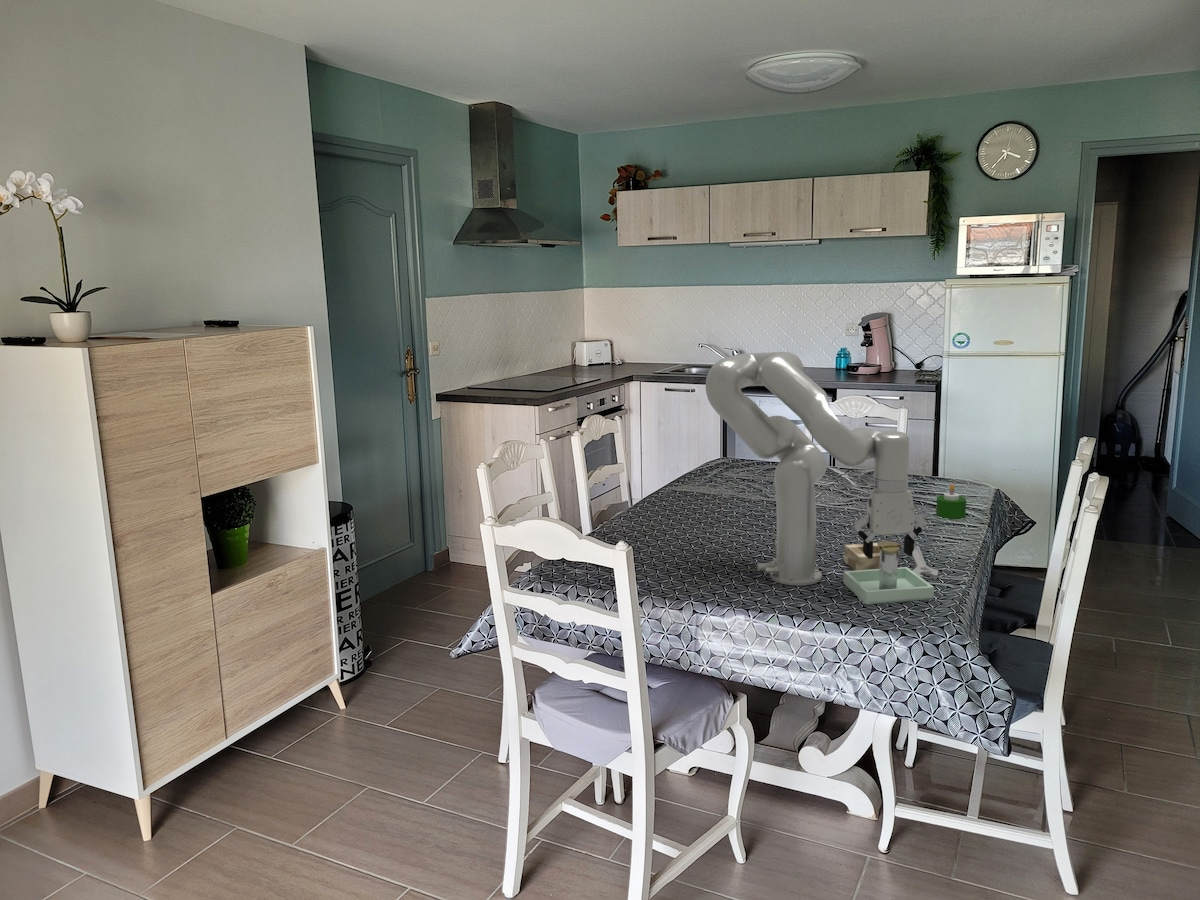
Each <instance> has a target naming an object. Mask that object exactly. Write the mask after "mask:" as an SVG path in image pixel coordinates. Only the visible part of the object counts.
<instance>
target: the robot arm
mask: <svg viewBox="0 0 1200 900" xmlns="http://www.w3.org/2000/svg"><path fill="white" fill-rule="evenodd" d="M759 386H760V387H765V388H766V389H767V390H769V391H770V393H772V394H773V395H774V396H775V397H776V398H777V399H778V400H779V401H781V402H782V403H783V404H784V405H786V407H788V409H790V410H791V411H792V412H793V413H794V414H795V415H796V416H797V417H798V418H799V419H800V420H801V422H802V423H803V425H804V427H805V428H806V430H807V431H808V432H809V434H810V435H811V437H812V438H813V439H814V440H815V442H816V443H817V444H818V445H819V446H820V447H821V448H822V449H823V450H825V451H826V453H827V454H829V455H830V456H831V457H832V458H834V459H835V460H836V461H837V462H839V463H840V464H842V465H844V466H848V467H858V466H860V465H862V464H863V463H865V462H866V461H867V460H871V459H874V460H873V461H874V465H873V466H874V467H873V478H872V480H870V481H867V486H868V488H872V489H870V492H869V497H868V502H867V508H866V515H865V516H863V517H861V518H859V519H857V520H856V521H854V522H853V523H852V527H853V528H854V531H855V533H856V535H858V536H859V537H860V538H861V539H862V540H863V542H862V544H863V553H864V554H865V556H866V557H868V558H869V559H872V558H873V543H874V542H872V540H873V539H874V538H875V537H876V536H893V535H905V536H904V537H903V553H904V554H906V555H907V556H909V557H912V554H913V551H914V545H915V540H916V539H917V538H918V535H920V534H921V532H922V531H923V528H924V527H925V525H926V522H927V520H926V519H925V518H923V517H921V516H919V515H917V514H915V507H914V499H913V494H912V493H913V492H912V490H910V489H909V465H910V461H909V460H910V437H909V435H908V434H907V433H905V432H903V431H896V430H887V431H885V430H884V431H883V430H877V429H873V428H867V427H857V428H853V429H852V430H851V429H849V427H848V426H846V425H845V423H843V422H842V421H841V420H840V419H839V418H838V417H837V416H836V415H835V413H834V412H833V409H832V408H831V406H830V401H829V396H828V394H827V392H826V391H825V390H824V389H823V387H821V386H820V385H818V384H817V383H816V382H815V381H814V380H813V379H812V378H811V377H809V376H808V375H807V374H805V372H804V363H803V362H802V360H801V359H800V357H799V356H798V355H796V354H795V353H793V352H790V351H777V352H775V351H774V352H748V353H747V352H746V353H745V352H743V353H738V354H735V355H731V356H727V357H724V358H721V359H720V360H717V361H716V362H715V363H713V365H712V366H711V368H710V369H709V370H708V373H707V375H706V380H705V393H706V396H707V400H708V402H709V404H710V405H711V407H712V408H713V410H714V411H715V413H716V414H718V416H720V418H722V420H723V421H724V422H725V423H726V424H727V425H728V426H729V427H730V429H732V431H733V432H734V433H735V434H736V435H737V436H738V437H739V438H740V439H741V440H742V441H743V443H744V444H746V446H747V447H748V448H749V449H750V450H751V451H752V453H754V455H756V456H757V457H758V458H760V459H762V460H763V459H764V460H769V459H773V458H775V457H776V458H778V461H779V462H778V464H777V465H776V467H775V469H774V473H773V474H774V476H773V482H774V489H775V490H774V491H775V501H776V547H775V548H776V550H775V551H776V557H772V561H769V562H761V563H760V562H759V563H757V564H756V569H757V571H758V572H761V571H763V572H765V574H769V577H770V579H771V580H772V581H774V582H776V583H778V584H782V585H785V586H786V585H787V586H798V587H800V586H802V587H803V586H810V585H814V584H817V583H819V582H820V581H821V580H822V575H823V574H822V572H821V571H820V570H819V569H818V568H816V558H817V557H816V556H817V555H816V552H817V551H816V549H817V547H816V546H817V545H816V544H817V536H816V535H817V504H816V503H817V501H816V500H817V499H816V494H815V484H817V482H819V481H820V480H821V479H822V478H823V477H824V475H825V473H826V471H827V467H828V465H827V459H826V456H825V455H824V454H823V451H821V449H819V447H818V446H817V445H816V444H815V443H814V442H813V441H812V440H811V439H810V438H809V436H807V435H806V434H805V433H804V431H802V429H800V427H799V426H798V425H797V424H795V422H793V421H792V420H791V419H789V418H787V417H785V416H782V415H771V416H768V415H767V414H766V413H765V411H763V410H762V408H760V407H759V406H758V404H757V403H756V402H755V401H754V400H753V399H751V398H749V397H748V396H747V395H746V394H744V393H743V391H742V389H744V388H746V387H759ZM915 522H916V525H915ZM865 525H866V530H865V531H863V529H862V527H863V526H865Z"/></svg>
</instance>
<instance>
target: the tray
mask: <svg viewBox="0 0 1200 900" xmlns="http://www.w3.org/2000/svg"><path fill="white" fill-rule="evenodd" d="M912 570H913V569H911V568H909V567H908V566H904V567H898V568H897V589H884V590H880V589H879V569H871V570H857V571H855V570H846V571H843V579H842V580H843V582H842V583H843V585H845V587H847V588H848V589H849V590H850V591H851V592H854V593H853V594H854V595H856V596H857V597H858V598H859V599H860V600H861V601H862V602H863V603H864V604H865V605H878V604H891V603H904V602H918V601H919V600H920V601H929V600H930V599H933V600H934V597H935V594H934V593H935V587H934V586H933V585H932V584H930V583H929V582H928V581H927V580H925V579H922V578H921V577H920V576H918V575H917V574H916V573H914V572H913V571H912ZM920 601H919V602H920ZM930 601H931V600H930Z"/></svg>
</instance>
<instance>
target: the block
mask: <svg viewBox="0 0 1200 900" xmlns="http://www.w3.org/2000/svg"><path fill="white" fill-rule="evenodd" d="M872 543H873V558H872V559H869V558H868V557H866V556H865V554H864V553H863V543H853V544H844V556H843V557H844V559H843V561H844V563H845V564H846V565H848V566H849V567H850V568H851V569H852V571H857V570H871V569H880V550H878V548H877V546H878V543H879V542H872ZM897 568H899V565H898V566H897Z"/></svg>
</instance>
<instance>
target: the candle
mask: <svg viewBox="0 0 1200 900" xmlns="http://www.w3.org/2000/svg"><path fill="white" fill-rule="evenodd" d="M948 488H949V492H946V493H945V492H944V494H942V495H938V496H937V497H936V507H935V508H936V509H935V511H936V512H935V516H936V515H937V516H939V517H942V518H948V519H961V518H964V517H965V518H966V512H967V499H966V497H964V496H961V495H960V494H959V493H956V492H955V484H953V483H951V484H950V485H949V487H948ZM937 516H936V517H937ZM939 517H938V518H939ZM942 518H941V519H942ZM965 518H964V519H965ZM961 520H962V519H961Z"/></svg>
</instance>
